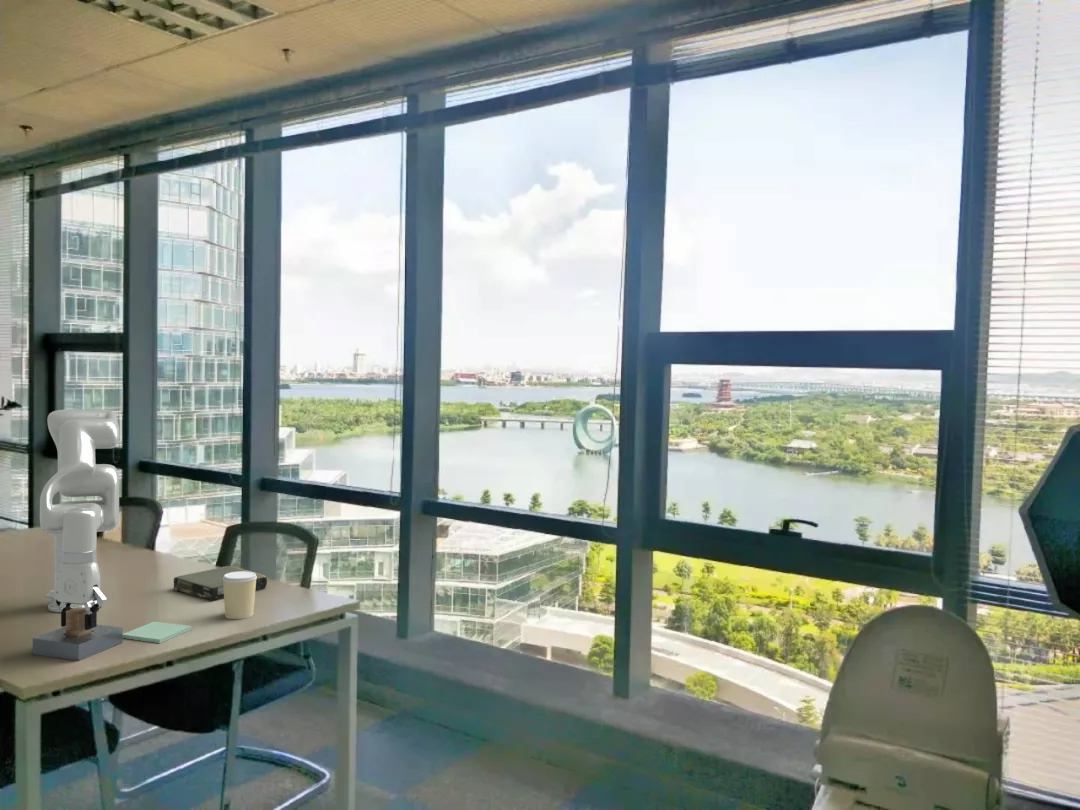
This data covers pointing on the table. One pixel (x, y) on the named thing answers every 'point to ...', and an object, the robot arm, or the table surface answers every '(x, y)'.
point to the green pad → (156, 632)
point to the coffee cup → (239, 594)
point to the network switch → (211, 582)
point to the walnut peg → (76, 622)
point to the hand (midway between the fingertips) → (78, 626)
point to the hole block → (77, 643)
